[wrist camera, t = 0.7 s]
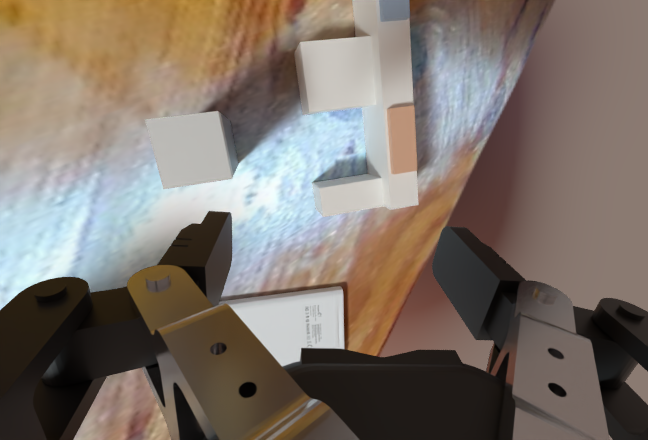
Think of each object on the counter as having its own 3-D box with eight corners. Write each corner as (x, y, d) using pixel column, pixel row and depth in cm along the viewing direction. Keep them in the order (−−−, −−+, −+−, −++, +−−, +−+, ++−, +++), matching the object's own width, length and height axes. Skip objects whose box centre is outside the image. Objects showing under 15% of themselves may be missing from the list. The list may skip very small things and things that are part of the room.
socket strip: (277, -68, 25) (284, -123, 20) (375, -71, 26) (407, -123, 21) (315, 208, 31) (328, 223, 26) (393, 194, 32) (421, 206, 27)
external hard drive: (216, 298, 32) (339, 283, 34) (225, 370, 34) (341, 351, 36) (214, 307, 30) (343, 290, 33) (224, 381, 32) (345, 360, 35)
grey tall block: (185, 126, 27) (144, 119, 16) (230, 120, 27) (217, 110, 17) (196, 169, 28) (163, 189, 17) (238, 163, 28) (231, 178, 18)
